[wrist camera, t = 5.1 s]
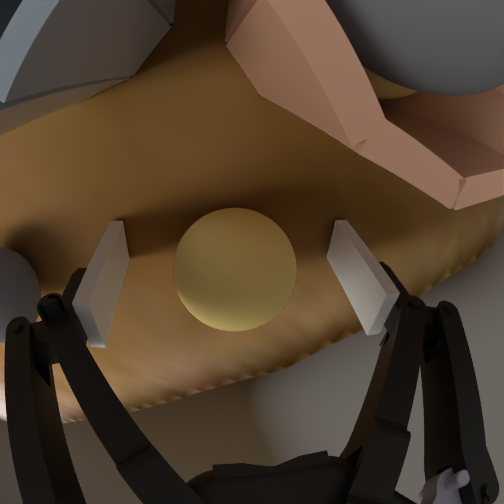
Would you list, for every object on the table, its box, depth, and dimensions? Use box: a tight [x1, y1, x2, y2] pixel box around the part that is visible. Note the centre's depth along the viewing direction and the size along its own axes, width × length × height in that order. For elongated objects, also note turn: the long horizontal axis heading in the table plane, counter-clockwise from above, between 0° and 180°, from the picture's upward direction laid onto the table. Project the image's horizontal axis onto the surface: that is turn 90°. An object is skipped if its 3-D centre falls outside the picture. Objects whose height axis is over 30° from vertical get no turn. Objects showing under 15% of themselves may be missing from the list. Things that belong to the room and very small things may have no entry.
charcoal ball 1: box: [0, 248, 41, 342], centre depth 13 cm, size 6×6×6 cm
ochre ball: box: [173, 208, 297, 331], centre depth 15 cm, size 6×6×6 cm
